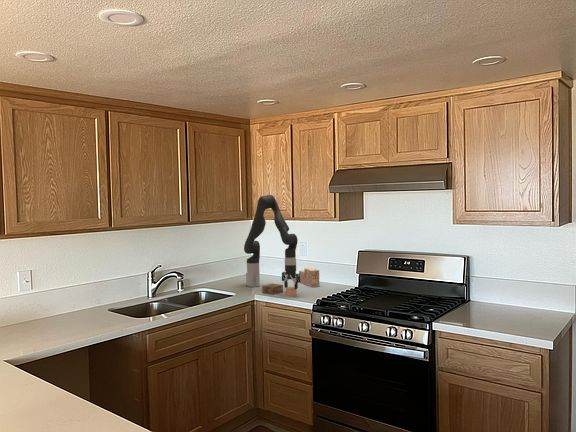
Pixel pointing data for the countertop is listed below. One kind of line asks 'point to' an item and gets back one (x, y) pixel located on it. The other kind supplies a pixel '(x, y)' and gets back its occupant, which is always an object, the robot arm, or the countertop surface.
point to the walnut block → (272, 289)
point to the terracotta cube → (291, 291)
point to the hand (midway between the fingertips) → (291, 288)
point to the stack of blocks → (309, 277)
